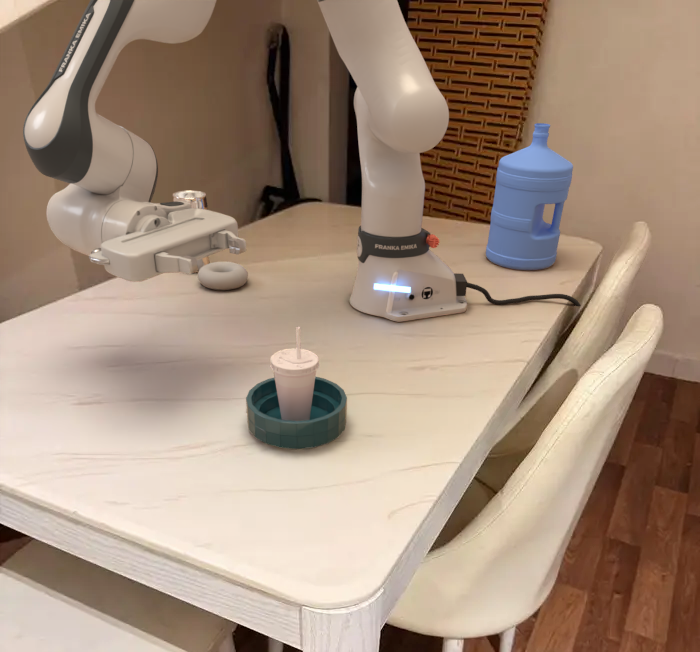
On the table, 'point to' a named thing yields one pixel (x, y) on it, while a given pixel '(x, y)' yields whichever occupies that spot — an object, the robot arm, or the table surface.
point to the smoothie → (295, 380)
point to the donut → (222, 275)
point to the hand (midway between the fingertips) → (219, 256)
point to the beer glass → (196, 201)
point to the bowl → (297, 434)
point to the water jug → (528, 205)
